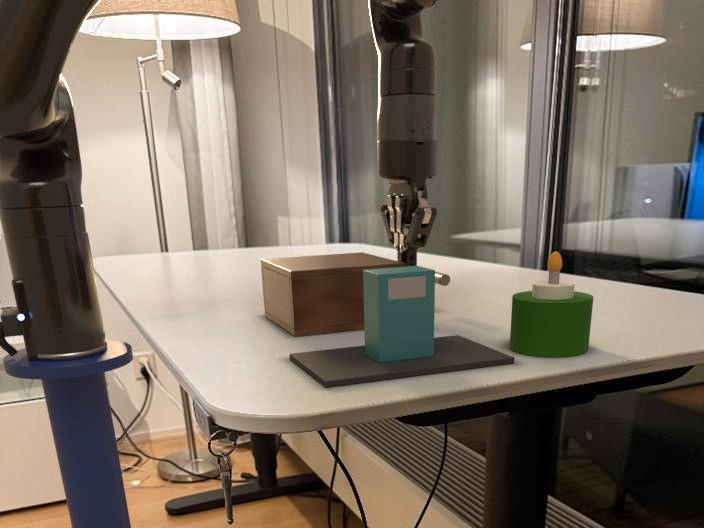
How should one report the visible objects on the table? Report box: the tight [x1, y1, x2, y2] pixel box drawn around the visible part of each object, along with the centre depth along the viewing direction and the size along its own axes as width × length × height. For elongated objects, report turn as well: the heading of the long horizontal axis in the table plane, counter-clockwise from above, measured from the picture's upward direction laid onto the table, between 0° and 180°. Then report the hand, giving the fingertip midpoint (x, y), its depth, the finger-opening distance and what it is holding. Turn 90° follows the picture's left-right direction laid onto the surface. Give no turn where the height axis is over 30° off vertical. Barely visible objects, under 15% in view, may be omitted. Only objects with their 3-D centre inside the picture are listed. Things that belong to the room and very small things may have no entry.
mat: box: [289, 334, 515, 388], centre depth 74 cm, size 20×12×1 cm, turn 111°
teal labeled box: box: [363, 265, 436, 363], centre depth 72 cm, size 6×4×8 cm
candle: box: [509, 250, 594, 358], centre depth 76 cm, size 8×8×10 cm
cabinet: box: [260, 252, 405, 337], centre depth 94 cm, size 15×15×8 cm
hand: (407, 280), depth 97 cm, fingers closed
